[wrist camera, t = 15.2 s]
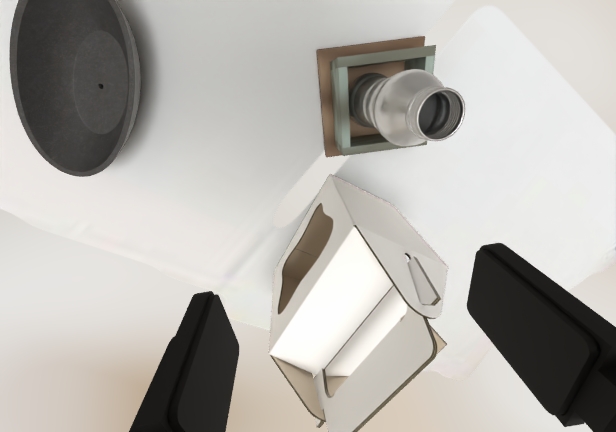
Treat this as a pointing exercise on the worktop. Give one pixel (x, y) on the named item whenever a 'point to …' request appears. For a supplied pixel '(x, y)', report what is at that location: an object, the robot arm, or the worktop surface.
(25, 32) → the bowl
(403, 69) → the bottle holder
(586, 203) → the worktop surface
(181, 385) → the robot arm
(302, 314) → the gable box
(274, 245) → the worktop surface
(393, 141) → the silver bottle
